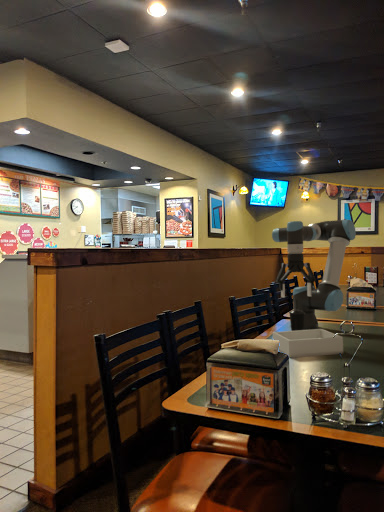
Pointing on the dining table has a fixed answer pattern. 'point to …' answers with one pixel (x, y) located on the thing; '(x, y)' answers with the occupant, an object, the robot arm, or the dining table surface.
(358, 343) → the dining table surface
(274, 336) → the box
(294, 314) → the drinking cup
